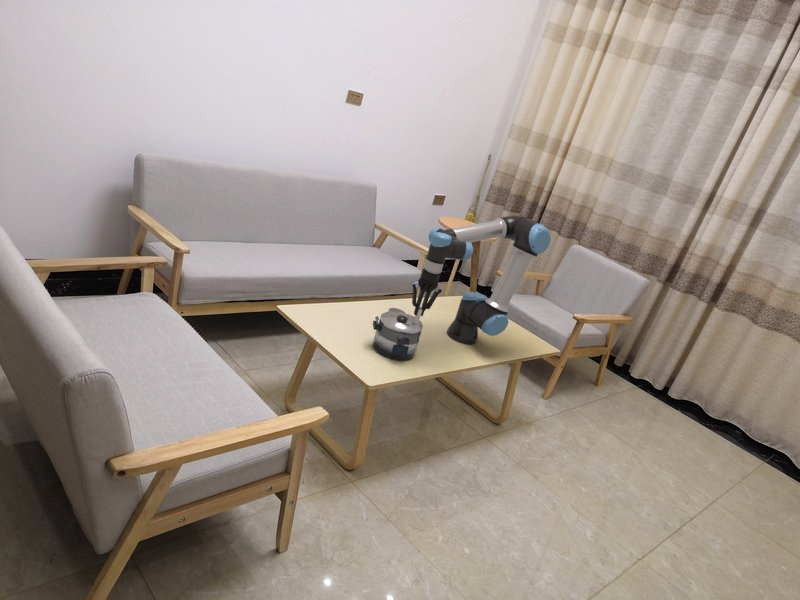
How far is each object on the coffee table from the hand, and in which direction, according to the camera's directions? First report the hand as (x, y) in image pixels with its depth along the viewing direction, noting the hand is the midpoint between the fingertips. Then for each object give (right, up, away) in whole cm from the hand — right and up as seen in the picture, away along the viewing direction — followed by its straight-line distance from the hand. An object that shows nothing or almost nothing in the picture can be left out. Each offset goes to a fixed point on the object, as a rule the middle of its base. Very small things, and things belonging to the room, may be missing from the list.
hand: (415, 322), depth 227 cm
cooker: (-10, -12, +4) cm, 16 cm away
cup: (-11, -5, +21) cm, 24 cm away
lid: (-7, -1, -1) cm, 7 cm away
